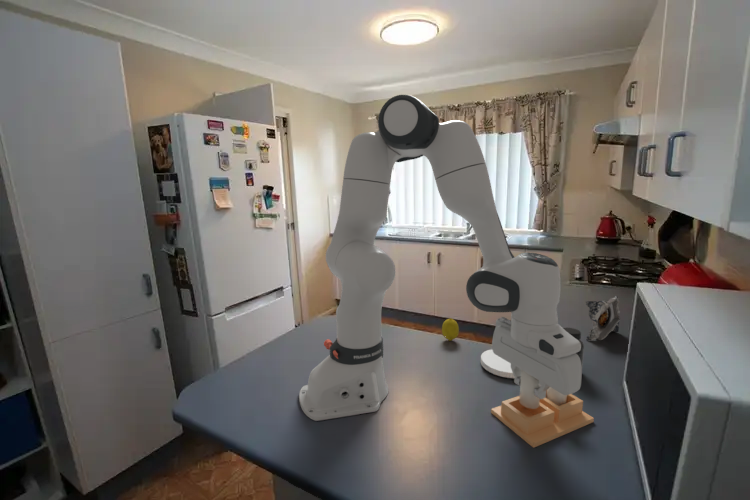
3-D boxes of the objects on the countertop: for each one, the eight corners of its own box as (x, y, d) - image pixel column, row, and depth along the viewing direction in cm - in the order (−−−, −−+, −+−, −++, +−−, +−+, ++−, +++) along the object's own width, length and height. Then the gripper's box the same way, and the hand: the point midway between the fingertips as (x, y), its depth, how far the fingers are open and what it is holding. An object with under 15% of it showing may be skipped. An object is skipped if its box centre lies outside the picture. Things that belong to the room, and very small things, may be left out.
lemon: (458, 345, 114) (459, 322, 112) (441, 343, 115) (441, 320, 113) (458, 337, 119) (458, 315, 118) (441, 336, 120) (442, 314, 119)
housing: (533, 447, 69) (536, 407, 67) (490, 412, 80) (492, 376, 78) (593, 422, 76) (597, 384, 75) (546, 393, 87) (549, 359, 85)
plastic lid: (540, 367, 100) (540, 359, 99) (520, 388, 90) (520, 379, 89) (493, 351, 109) (494, 344, 109) (471, 368, 100) (471, 360, 99)
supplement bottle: (580, 367, 99) (584, 328, 96) (583, 379, 93) (587, 337, 90) (553, 362, 102) (556, 324, 99) (554, 374, 95) (557, 333, 93)
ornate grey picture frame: (605, 329, 124) (609, 294, 122) (618, 333, 121) (623, 297, 118) (581, 338, 117) (585, 301, 115) (594, 343, 113) (599, 305, 111)
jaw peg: (530, 410, 73) (532, 376, 72) (515, 400, 77) (517, 367, 75) (543, 405, 75) (546, 371, 73) (528, 395, 79) (530, 363, 77)
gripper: (486, 316, 81) (484, 371, 83) (566, 354, 62) (560, 422, 65) (507, 311, 83) (504, 364, 86) (589, 347, 65) (583, 413, 67)
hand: (529, 390), depth 75 cm, fingers closed on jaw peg, 4 cm apart
